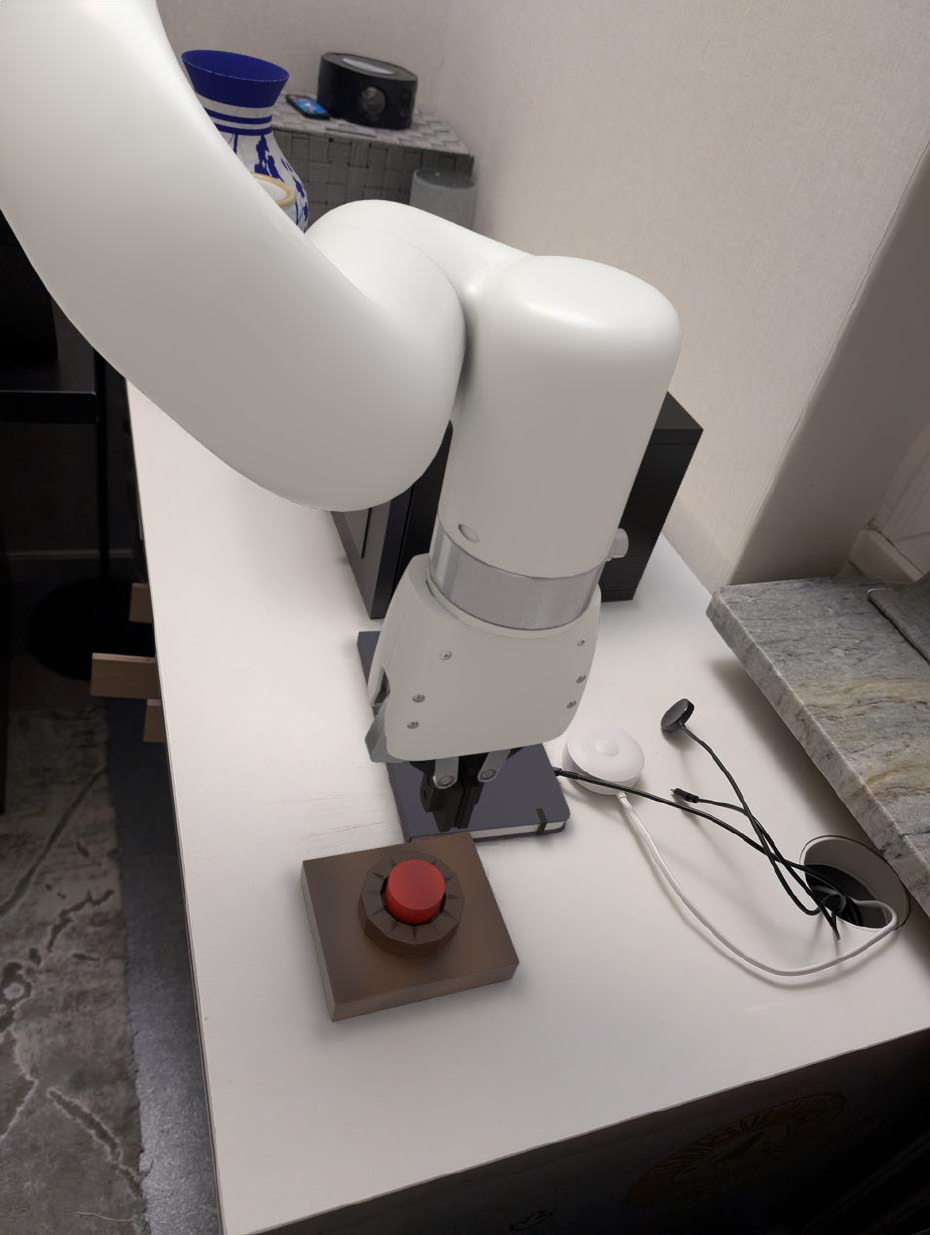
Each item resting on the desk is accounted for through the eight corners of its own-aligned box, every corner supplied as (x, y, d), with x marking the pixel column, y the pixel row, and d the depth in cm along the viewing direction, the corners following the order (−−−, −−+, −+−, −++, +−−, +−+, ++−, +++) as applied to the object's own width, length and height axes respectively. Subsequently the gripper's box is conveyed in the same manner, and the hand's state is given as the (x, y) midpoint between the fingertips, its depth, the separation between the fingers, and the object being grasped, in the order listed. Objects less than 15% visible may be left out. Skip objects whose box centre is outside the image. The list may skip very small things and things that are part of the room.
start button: (392, 929, 55) (397, 914, 54) (378, 879, 58) (382, 863, 57) (447, 918, 57) (452, 903, 56) (430, 869, 59) (435, 854, 58)
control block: (331, 1021, 54) (338, 990, 52) (299, 878, 61) (304, 844, 58) (512, 978, 58) (527, 947, 56) (464, 849, 65) (475, 816, 63)
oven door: (305, 622, 79) (328, 428, 67) (249, 431, 101) (259, 256, 88) (386, 617, 82) (423, 429, 70) (315, 432, 104) (333, 262, 91)
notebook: (356, 643, 79) (406, 850, 64) (358, 630, 78) (410, 837, 63) (491, 638, 83) (568, 831, 68) (495, 626, 82) (574, 819, 67)
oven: (389, 618, 82) (425, 427, 69) (317, 433, 104) (335, 261, 91) (632, 600, 92) (704, 429, 79) (520, 434, 113) (563, 278, 100)
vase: (176, 350, 112) (172, 80, 92) (140, 285, 123) (130, 33, 104) (320, 345, 121) (344, 97, 101) (274, 285, 132) (288, 52, 113)
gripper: (625, 502, 45) (538, 743, 56) (329, 514, 39) (301, 777, 51) (700, 600, 39) (587, 842, 51) (371, 629, 34) (330, 892, 46)
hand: (445, 809), depth 51 cm, fingers closed
